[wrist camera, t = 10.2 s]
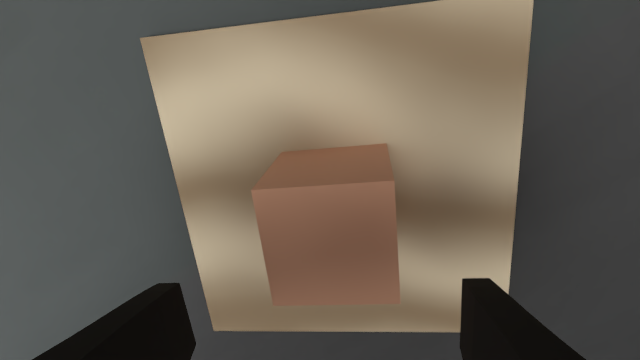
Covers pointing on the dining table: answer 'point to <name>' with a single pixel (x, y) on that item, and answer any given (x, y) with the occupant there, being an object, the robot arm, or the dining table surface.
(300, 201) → the terracotta cube
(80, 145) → the dining table surface
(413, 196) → the beige flat square sheet
